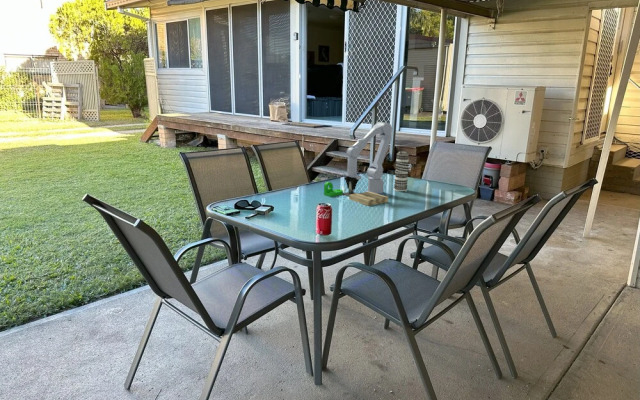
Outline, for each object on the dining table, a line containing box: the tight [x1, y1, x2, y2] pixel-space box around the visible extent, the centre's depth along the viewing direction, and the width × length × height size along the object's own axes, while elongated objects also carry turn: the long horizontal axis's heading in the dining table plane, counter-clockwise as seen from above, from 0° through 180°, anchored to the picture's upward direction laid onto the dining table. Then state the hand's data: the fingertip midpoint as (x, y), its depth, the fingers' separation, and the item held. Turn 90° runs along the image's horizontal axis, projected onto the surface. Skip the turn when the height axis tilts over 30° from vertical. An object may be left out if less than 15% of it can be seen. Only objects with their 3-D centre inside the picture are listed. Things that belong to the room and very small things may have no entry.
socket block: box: [348, 191, 389, 206], centre depth 250 cm, size 16×16×3 cm
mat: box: [342, 191, 357, 198], centre depth 265 cm, size 10×10×1 cm
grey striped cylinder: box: [393, 150, 410, 192], centre depth 277 cm, size 9×9×25 cm
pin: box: [348, 181, 355, 195], centre depth 264 cm, size 3×3×8 cm
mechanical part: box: [323, 181, 344, 198], centre depth 262 cm, size 12×6×8 cm, turn 131°
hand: (351, 189), depth 264 cm, fingers closed on pin, 3 cm apart
